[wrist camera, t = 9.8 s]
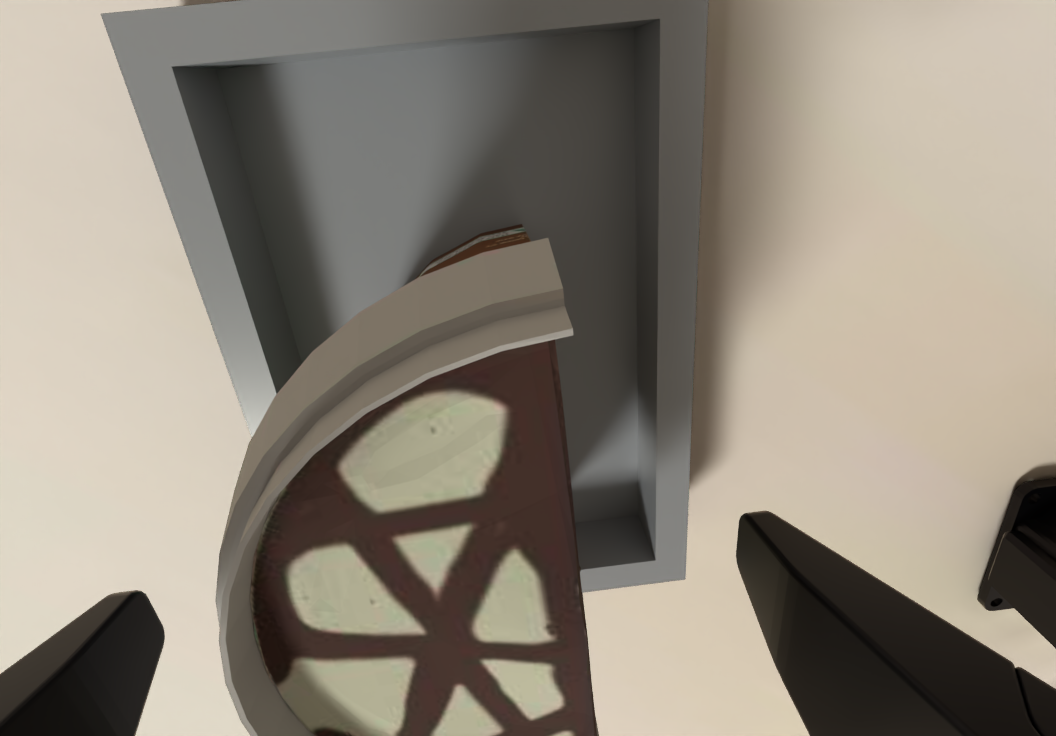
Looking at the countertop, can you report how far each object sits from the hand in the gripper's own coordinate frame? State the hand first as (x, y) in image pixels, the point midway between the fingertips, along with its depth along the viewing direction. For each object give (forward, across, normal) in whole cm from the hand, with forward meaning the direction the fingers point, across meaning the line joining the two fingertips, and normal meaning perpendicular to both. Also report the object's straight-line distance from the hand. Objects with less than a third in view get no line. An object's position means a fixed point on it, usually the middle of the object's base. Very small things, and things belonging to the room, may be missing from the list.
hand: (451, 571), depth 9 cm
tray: (+10, 0, 0) cm, 10 cm away
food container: (+10, +1, +2) cm, 10 cm away
